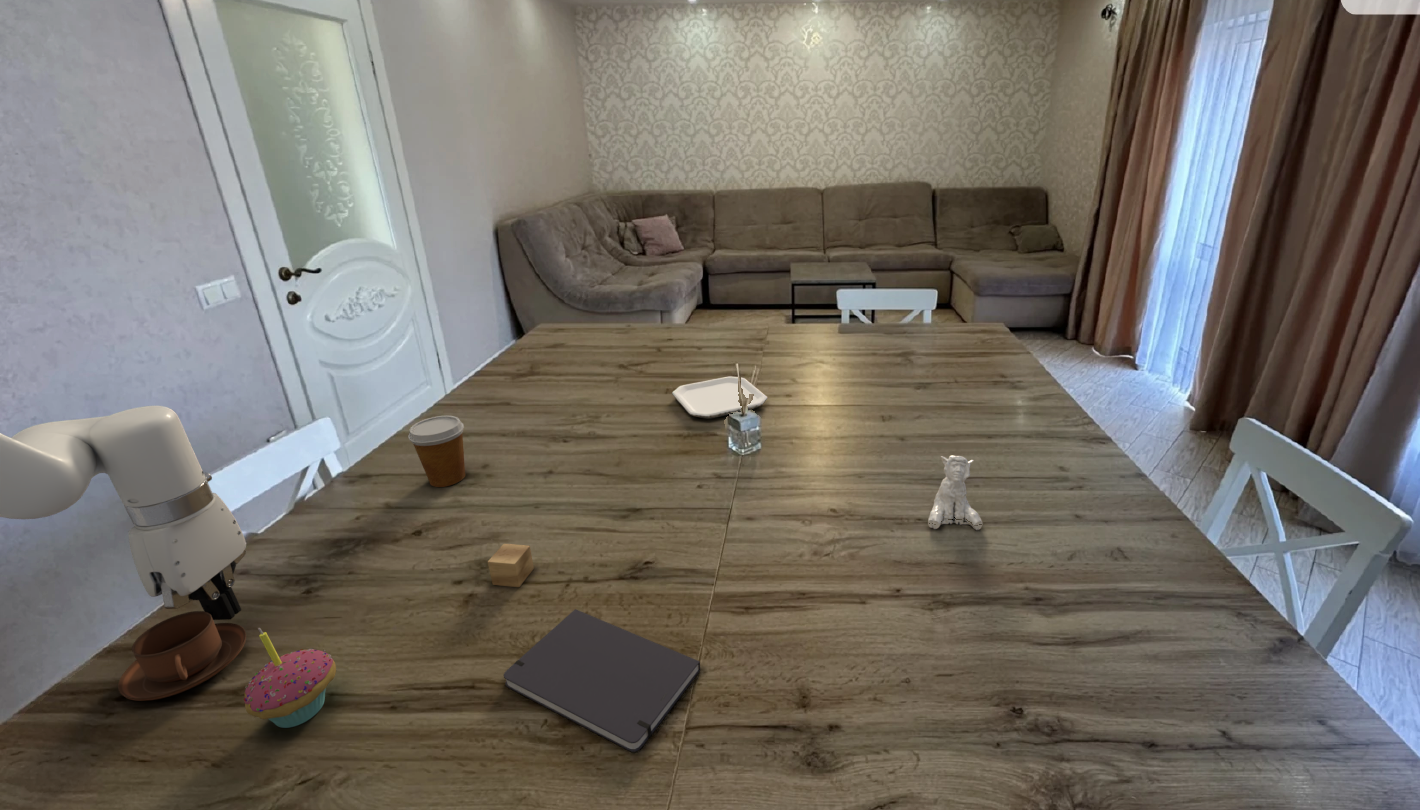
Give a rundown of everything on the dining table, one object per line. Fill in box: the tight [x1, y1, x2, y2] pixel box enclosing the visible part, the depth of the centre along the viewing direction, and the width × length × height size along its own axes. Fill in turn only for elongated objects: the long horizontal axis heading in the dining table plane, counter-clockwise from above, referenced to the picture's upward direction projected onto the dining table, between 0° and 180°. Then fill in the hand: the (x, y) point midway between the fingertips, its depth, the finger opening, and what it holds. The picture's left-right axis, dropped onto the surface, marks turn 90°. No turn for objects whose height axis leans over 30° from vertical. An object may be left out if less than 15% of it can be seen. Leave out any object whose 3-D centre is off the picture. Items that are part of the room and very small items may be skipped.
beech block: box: [487, 543, 535, 588], centre depth 95 cm, size 4×4×4 cm
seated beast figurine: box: [927, 455, 984, 531], centre depth 108 cm, size 10×9×12 cm
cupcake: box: [243, 627, 337, 729], centre depth 71 cm, size 9×8×12 cm
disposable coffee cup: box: [407, 415, 466, 488], centre depth 120 cm, size 10×10×12 cm
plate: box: [671, 375, 768, 420], centre depth 157 cm, size 21×21×2 cm
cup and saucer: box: [117, 610, 247, 702], centre depth 78 cm, size 12×12×6 cm
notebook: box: [503, 608, 701, 753], centre depth 77 cm, size 13×2×21 cm
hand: (225, 615), depth 83 cm, fingers closed
